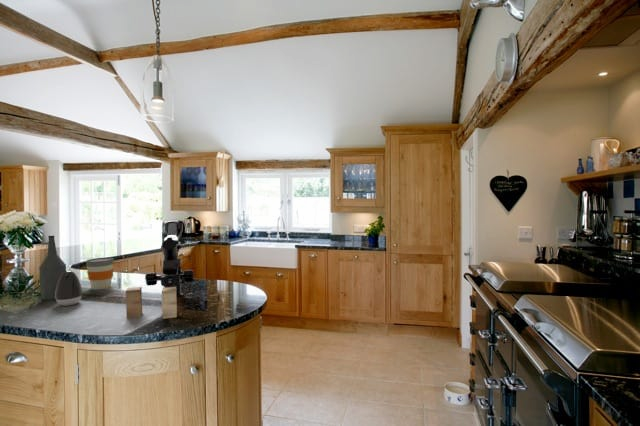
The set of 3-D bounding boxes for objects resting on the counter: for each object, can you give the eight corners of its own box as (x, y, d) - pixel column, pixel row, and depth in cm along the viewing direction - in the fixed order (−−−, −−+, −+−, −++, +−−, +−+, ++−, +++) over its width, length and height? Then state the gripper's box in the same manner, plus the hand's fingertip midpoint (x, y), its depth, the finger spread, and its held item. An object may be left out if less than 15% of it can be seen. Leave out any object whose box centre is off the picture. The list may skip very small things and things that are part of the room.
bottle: (43, 301, 165) (39, 237, 164) (38, 297, 172) (35, 235, 171) (69, 296, 173) (66, 235, 172) (64, 293, 180) (61, 233, 178)
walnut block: (128, 314, 146) (127, 287, 146) (142, 312, 148) (141, 286, 148) (126, 318, 142) (125, 290, 141) (140, 316, 143) (139, 289, 143)
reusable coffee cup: (115, 287, 189) (114, 259, 188) (87, 291, 182) (86, 262, 181) (113, 283, 199) (112, 256, 199) (87, 286, 192) (85, 259, 192)
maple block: (163, 314, 145) (162, 287, 144) (177, 312, 147) (176, 286, 146) (162, 318, 141) (161, 291, 140) (176, 317, 142) (175, 290, 141)
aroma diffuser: (53, 309, 154) (51, 274, 153) (57, 302, 163) (56, 270, 163) (81, 305, 159) (79, 271, 158) (84, 299, 168) (82, 267, 167)
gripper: (144, 253, 147) (142, 286, 137) (193, 251, 153) (193, 282, 143) (148, 269, 155) (145, 301, 145) (193, 266, 161) (194, 296, 151)
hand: (169, 295), depth 146 cm, fingers closed
